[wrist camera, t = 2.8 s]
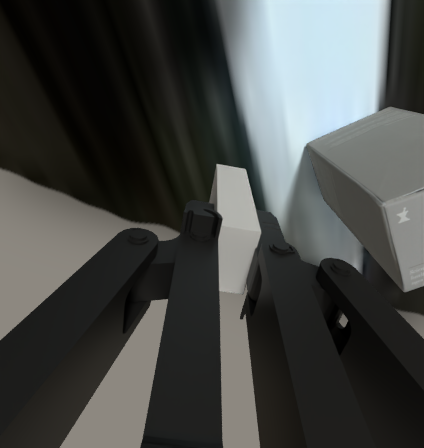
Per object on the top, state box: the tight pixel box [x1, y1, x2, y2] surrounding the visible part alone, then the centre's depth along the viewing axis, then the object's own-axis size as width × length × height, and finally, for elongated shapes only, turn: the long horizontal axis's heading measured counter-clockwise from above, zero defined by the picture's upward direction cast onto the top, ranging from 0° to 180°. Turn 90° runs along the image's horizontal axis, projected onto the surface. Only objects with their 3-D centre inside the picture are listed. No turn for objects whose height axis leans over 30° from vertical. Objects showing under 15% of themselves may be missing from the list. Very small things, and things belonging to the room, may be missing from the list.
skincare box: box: [307, 107, 424, 292], centre depth 24 cm, size 8×7×16 cm
